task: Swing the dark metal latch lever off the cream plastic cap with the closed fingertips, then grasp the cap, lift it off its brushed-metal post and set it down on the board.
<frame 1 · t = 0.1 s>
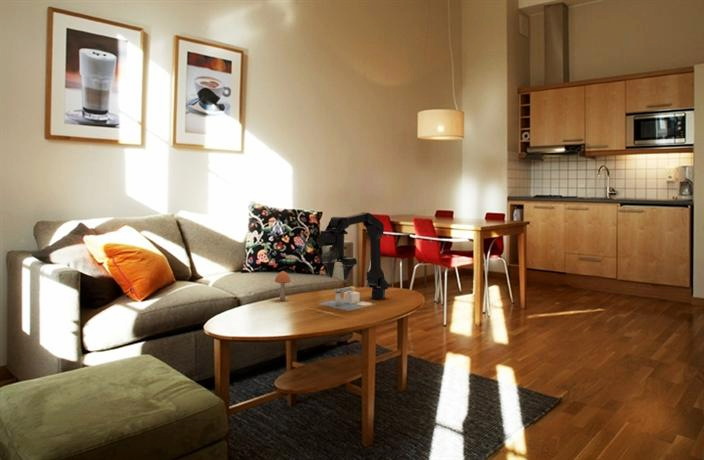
hand: (338, 278, 232), 14 cm above the table, fingers open, 9 cm apart
board: (347, 306, 240), on the table
latch: (344, 289, 240), point 8 cm above the table, hinge at 0.0°
cap: (351, 302, 244), point 1 cm above the table, touching board
mushroom: (283, 301, 252), on the table
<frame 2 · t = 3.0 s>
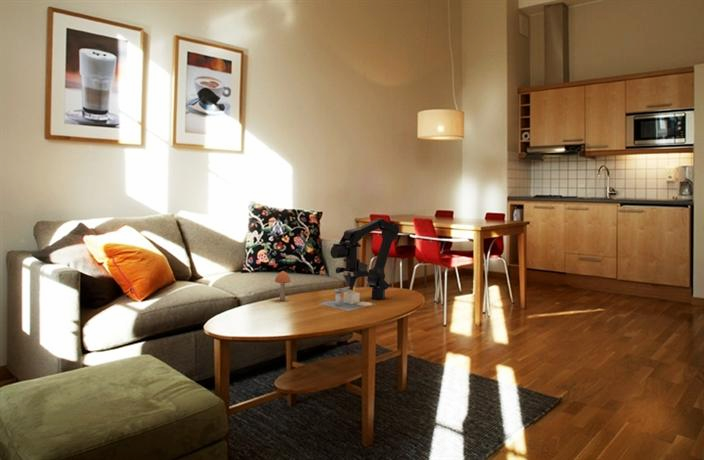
hand: (351, 289, 241), 8 cm above the table, fingers closed, pressing on latch
latch: (344, 289, 240), point 8 cm above the table, hinge at 2.0°, touching gripper
everything else where it was.
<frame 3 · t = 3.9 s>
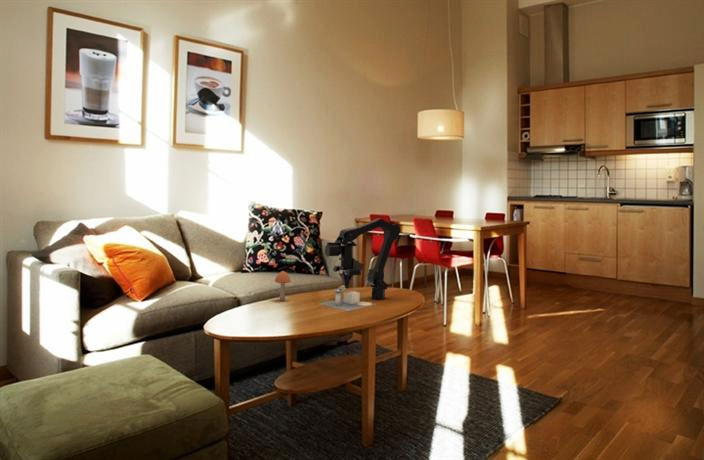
hand: (346, 288, 244), 8 cm above the table, fingers closed, pressing on latch
latch: (340, 289, 241), point 8 cm above the table, hinge at 28.9°, touching gripper
everything else where it was.
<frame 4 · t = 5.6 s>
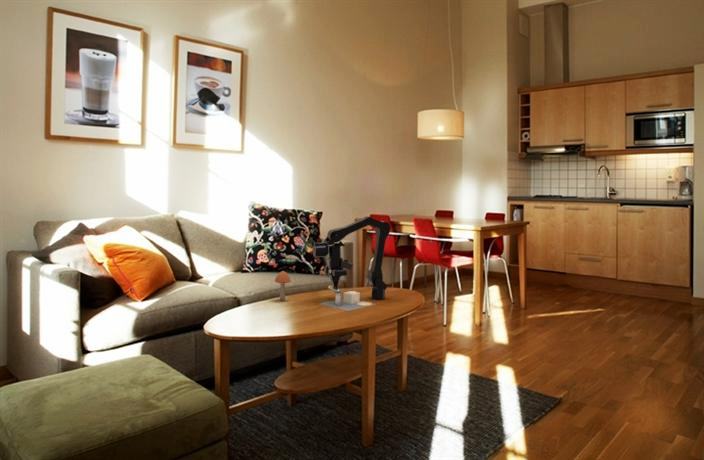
hand: (335, 288, 245), 8 cm above the table, fingers closed, pressing on latch
latch: (334, 289, 241), point 8 cm above the table, hinge at 66.6°, touching gripper
everything else where it was.
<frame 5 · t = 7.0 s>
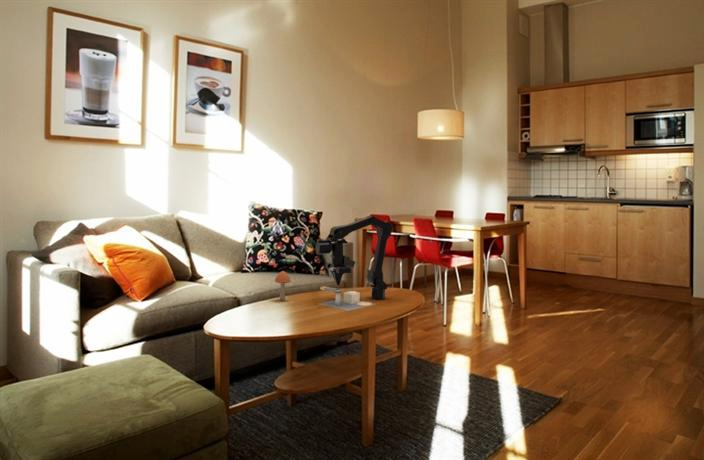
hand: (338, 285, 244), 9 cm above the table, fingers closed
latch: (331, 289, 240), point 8 cm above the table, hinge at 93.2°
everything else where it was.
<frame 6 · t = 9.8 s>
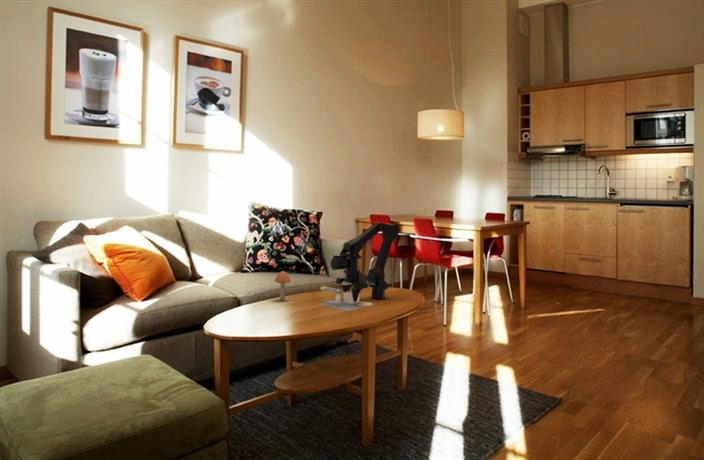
hand: (351, 300, 244), 2 cm above the table, fingers closed on cap, 6 cm apart
cap: (351, 302, 244), point 1 cm above the table, touching board, gripper
everything else where it was.
when the fingers open (4 cm above the table, at t = 13.6 s): cap drops 1 cm, resting on board.
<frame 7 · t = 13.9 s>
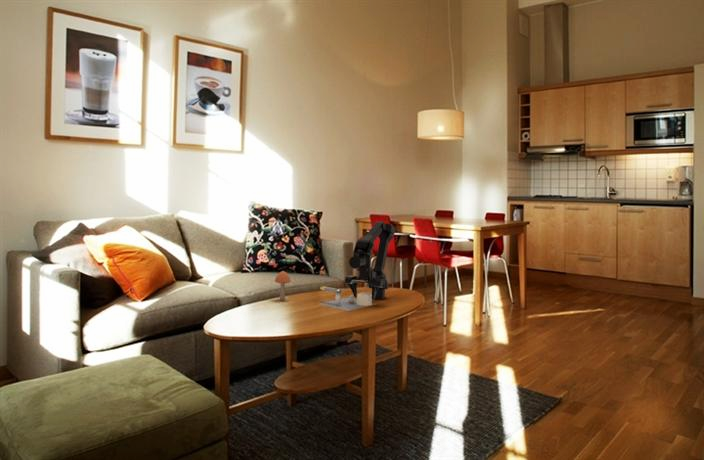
hand: (364, 298, 239), 4 cm above the table, fingers open, 9 cm apart
cap: (364, 303, 239), point 2 cm above the table, touching board
everything else where it was.
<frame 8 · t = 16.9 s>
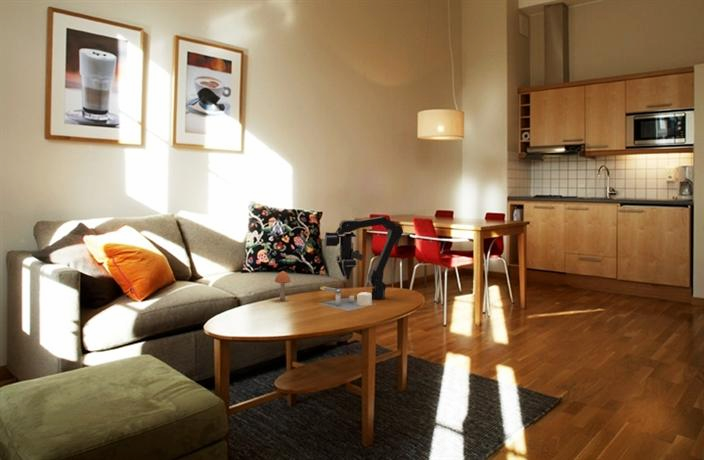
hand: (345, 277, 249), 12 cm above the table, fingers open, 9 cm apart
nothing on the table moved.
at the end: latch at +93° (first picture: +0°); cap 0.0 cm from the target spot, point 1.6 cm above the table; cap tilted 0° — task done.
